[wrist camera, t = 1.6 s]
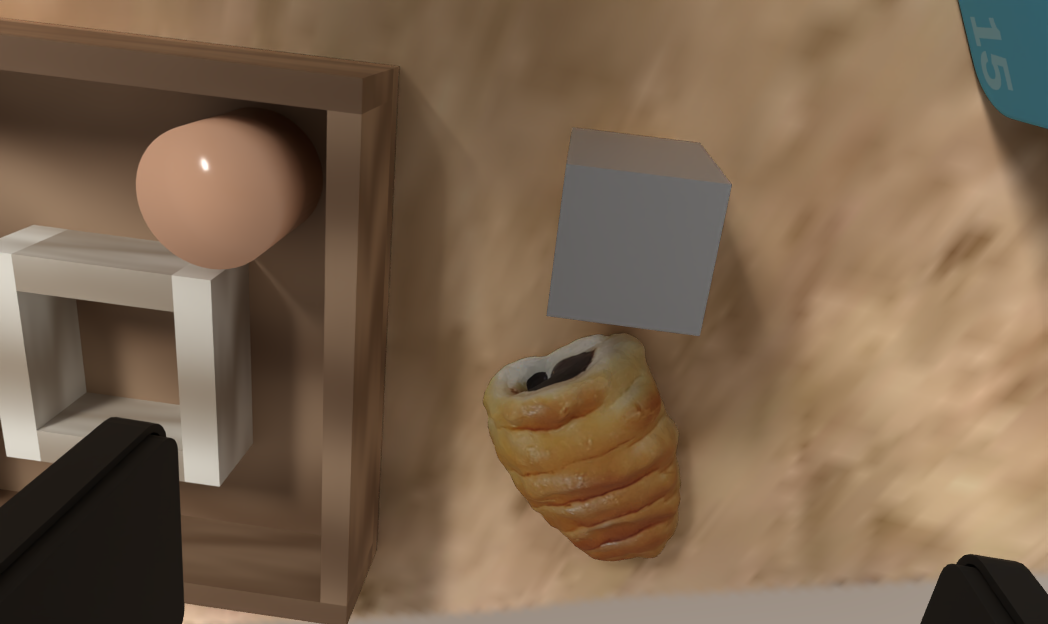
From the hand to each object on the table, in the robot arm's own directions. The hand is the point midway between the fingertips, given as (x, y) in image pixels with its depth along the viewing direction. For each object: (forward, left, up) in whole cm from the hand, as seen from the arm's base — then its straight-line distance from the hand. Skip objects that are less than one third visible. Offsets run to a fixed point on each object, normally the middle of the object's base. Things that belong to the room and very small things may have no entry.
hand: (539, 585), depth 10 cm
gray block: (-1, +2, -19) cm, 19 cm away
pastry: (+9, +2, -20) cm, 22 cm away
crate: (+6, -15, -19) cm, 25 cm away
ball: (0, -11, -18) cm, 21 cm away
